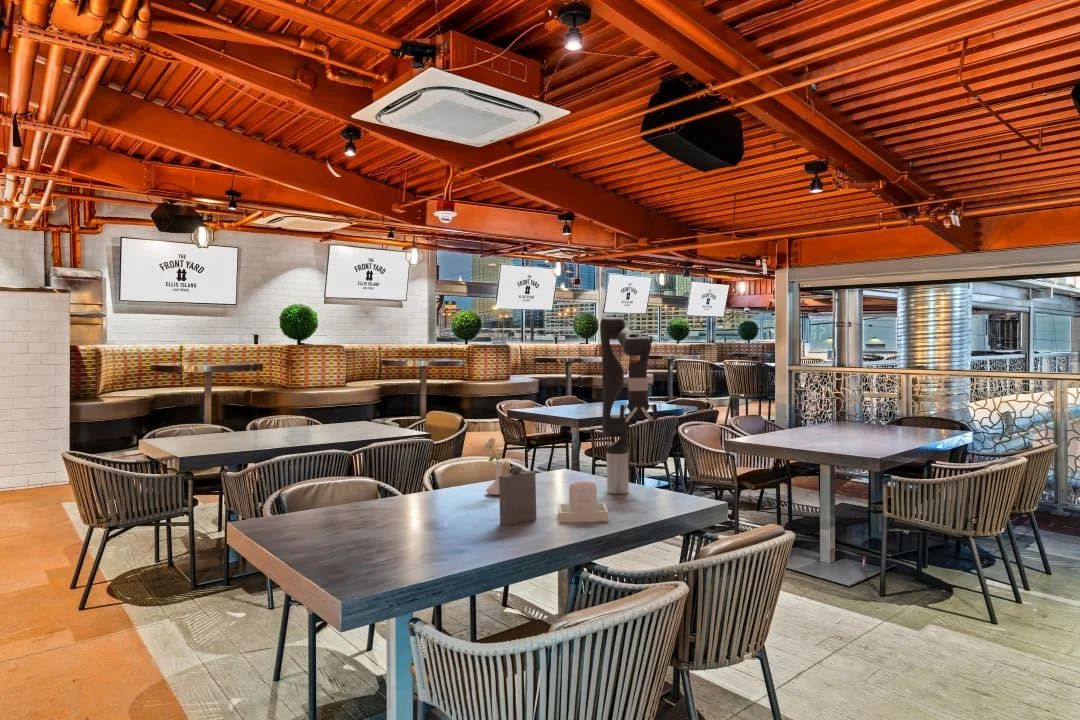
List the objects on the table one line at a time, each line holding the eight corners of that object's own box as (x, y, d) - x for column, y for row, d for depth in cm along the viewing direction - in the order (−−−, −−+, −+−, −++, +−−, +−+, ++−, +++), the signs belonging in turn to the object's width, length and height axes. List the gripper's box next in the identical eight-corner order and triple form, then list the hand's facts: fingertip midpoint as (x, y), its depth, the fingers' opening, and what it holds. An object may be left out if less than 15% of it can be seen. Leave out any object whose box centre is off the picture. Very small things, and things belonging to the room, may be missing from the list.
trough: (558, 513, 250) (558, 503, 250) (604, 511, 250) (604, 502, 250) (559, 522, 236) (559, 512, 236) (608, 521, 236) (608, 511, 236)
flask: (530, 516, 245) (528, 463, 245) (539, 519, 241) (537, 465, 240) (496, 523, 237) (494, 468, 236) (504, 526, 232) (503, 470, 232)
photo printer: (596, 512, 246) (595, 479, 245) (597, 515, 241) (597, 481, 241) (568, 513, 245) (568, 480, 245) (570, 516, 241) (569, 482, 240)
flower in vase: (501, 490, 292) (499, 434, 292) (517, 494, 284) (516, 436, 283) (477, 495, 283) (476, 437, 283) (494, 499, 275) (492, 439, 275)
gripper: (654, 388, 256) (655, 429, 256) (618, 389, 256) (619, 430, 256) (658, 389, 248) (659, 432, 249) (620, 390, 248) (621, 433, 249)
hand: (638, 431), depth 252 cm, fingers open, 8 cm apart
